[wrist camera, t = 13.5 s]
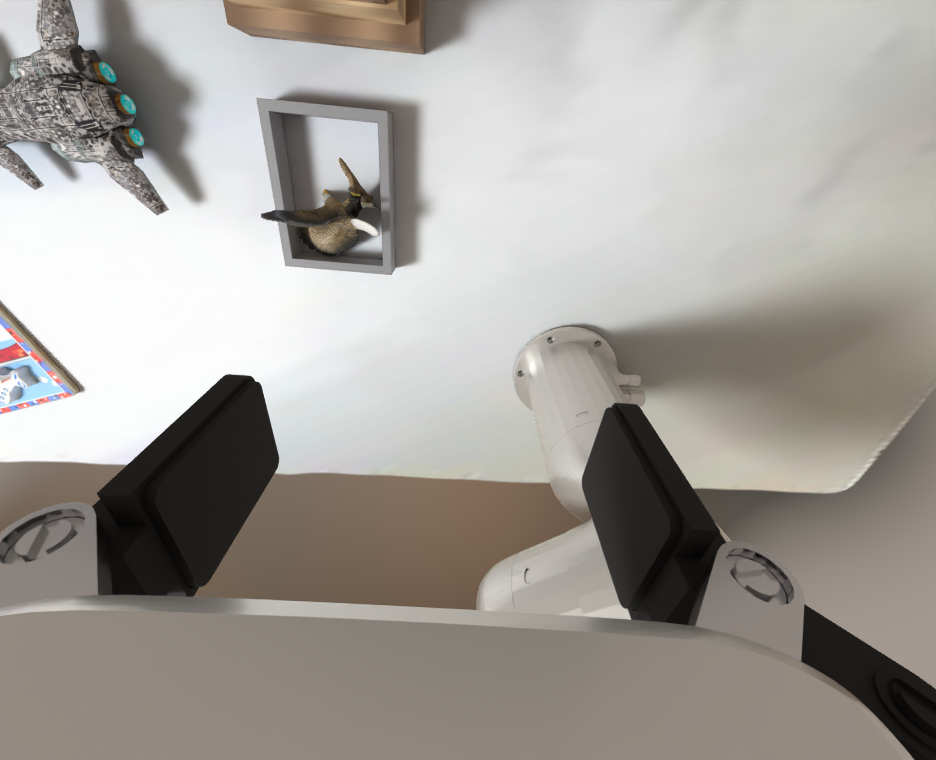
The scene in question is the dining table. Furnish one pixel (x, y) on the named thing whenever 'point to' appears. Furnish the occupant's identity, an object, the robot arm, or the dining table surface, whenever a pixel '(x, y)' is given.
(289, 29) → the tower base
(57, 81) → the toy aircraft
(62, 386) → the puzzle board
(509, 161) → the dining table surface
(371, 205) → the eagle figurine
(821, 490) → the dining table surface
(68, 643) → the robot arm
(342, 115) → the grey rectangular frame
